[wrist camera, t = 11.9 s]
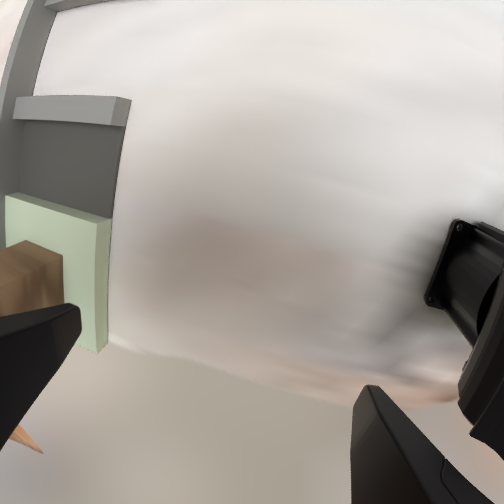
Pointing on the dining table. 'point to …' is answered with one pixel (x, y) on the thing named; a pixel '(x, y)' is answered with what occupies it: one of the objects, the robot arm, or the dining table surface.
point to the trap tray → (60, 170)
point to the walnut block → (30, 278)
